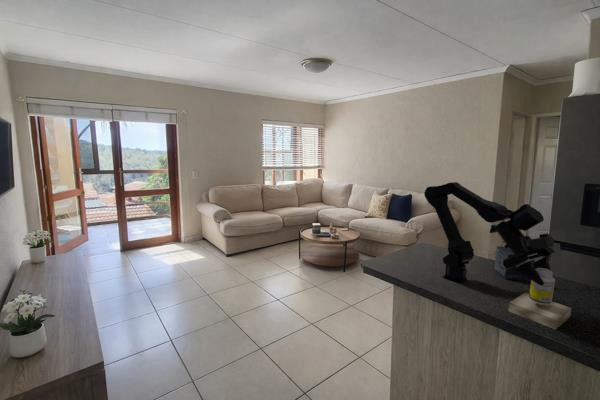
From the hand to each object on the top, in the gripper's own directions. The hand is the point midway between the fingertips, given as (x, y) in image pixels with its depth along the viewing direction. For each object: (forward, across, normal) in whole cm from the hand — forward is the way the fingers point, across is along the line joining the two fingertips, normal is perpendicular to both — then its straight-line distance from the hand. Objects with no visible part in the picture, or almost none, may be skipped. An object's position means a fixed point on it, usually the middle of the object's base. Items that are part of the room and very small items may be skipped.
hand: (547, 283), depth 90 cm
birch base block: (+7, 0, +8) cm, 11 cm away
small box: (-9, +23, +25) cm, 35 cm away
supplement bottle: (+4, 0, +6) cm, 7 cm away
